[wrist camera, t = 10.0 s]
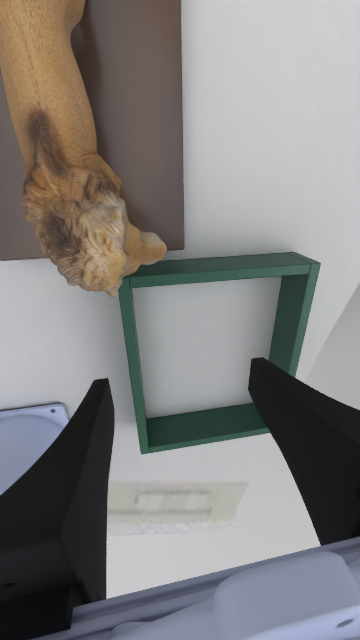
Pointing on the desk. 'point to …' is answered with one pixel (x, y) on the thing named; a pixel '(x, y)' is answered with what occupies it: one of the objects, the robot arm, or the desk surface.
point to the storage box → (283, 351)
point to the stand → (117, 119)
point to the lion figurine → (65, 151)
